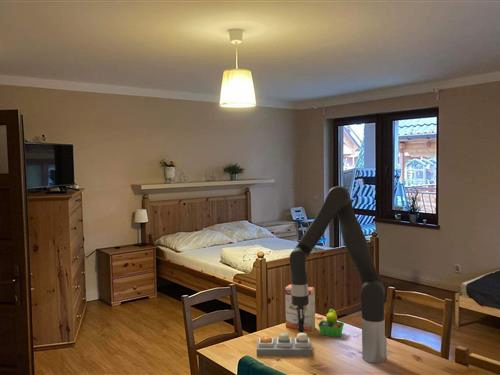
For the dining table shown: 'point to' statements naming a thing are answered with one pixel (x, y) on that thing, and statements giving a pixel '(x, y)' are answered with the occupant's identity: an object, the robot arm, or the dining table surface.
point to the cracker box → (292, 315)
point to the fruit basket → (331, 325)
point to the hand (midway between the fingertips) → (301, 331)
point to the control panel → (284, 348)
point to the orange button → (265, 339)
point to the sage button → (283, 336)
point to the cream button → (302, 336)
